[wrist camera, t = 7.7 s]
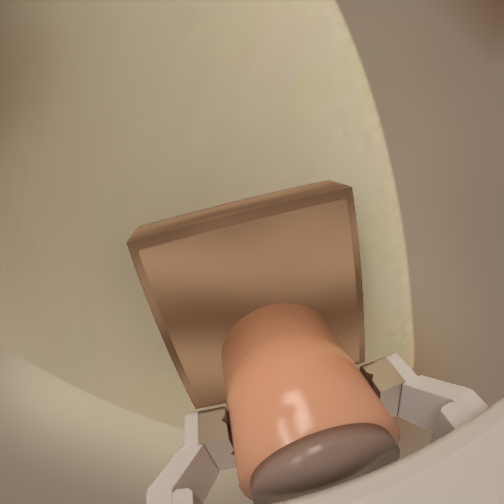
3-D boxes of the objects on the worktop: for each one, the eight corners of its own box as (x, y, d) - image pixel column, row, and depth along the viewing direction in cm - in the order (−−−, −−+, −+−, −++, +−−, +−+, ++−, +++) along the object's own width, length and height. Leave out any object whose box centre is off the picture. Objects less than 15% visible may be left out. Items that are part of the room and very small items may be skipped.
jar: (207, 320, 12) (219, 469, 6) (326, 288, 13) (420, 402, 6) (236, 403, 14) (260, 529, 8) (334, 375, 14) (397, 485, 8)
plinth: (138, 227, 17) (125, 244, 14) (328, 180, 18) (354, 187, 14) (195, 378, 20) (195, 412, 17) (346, 336, 21) (366, 364, 18)
